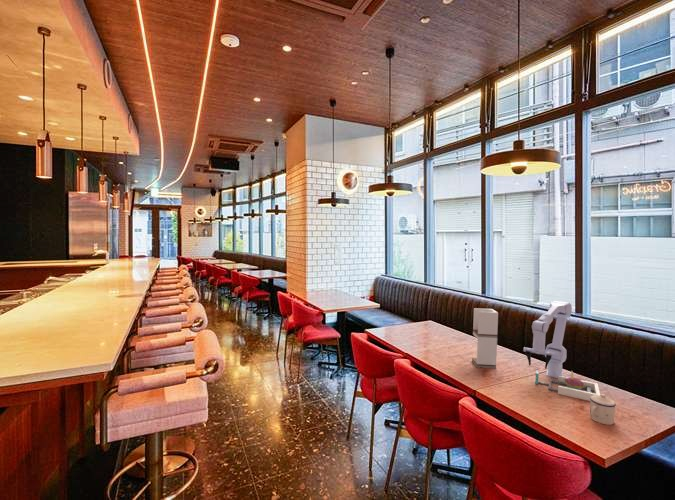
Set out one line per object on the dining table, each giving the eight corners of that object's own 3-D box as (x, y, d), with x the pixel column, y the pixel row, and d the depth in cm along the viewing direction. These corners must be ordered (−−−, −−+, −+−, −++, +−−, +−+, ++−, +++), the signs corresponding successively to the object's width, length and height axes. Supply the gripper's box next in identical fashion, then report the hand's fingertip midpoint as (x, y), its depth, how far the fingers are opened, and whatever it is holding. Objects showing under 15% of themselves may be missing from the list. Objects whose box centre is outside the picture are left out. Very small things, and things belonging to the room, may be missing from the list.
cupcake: (575, 396, 175) (576, 373, 175) (560, 388, 183) (561, 367, 183) (587, 394, 177) (588, 371, 177) (572, 387, 186) (573, 365, 185)
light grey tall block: (490, 362, 221) (492, 308, 220) (496, 368, 211) (498, 312, 209) (472, 361, 222) (473, 308, 221) (477, 367, 212) (479, 311, 210)
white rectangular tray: (558, 382, 191) (558, 375, 191) (597, 390, 182) (597, 383, 181) (557, 394, 177) (558, 386, 177) (600, 403, 168) (600, 395, 167)
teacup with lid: (597, 412, 159) (598, 388, 158) (619, 423, 150) (620, 397, 150) (580, 417, 154) (581, 392, 153) (602, 428, 146) (604, 402, 145)
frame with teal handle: (536, 378, 196) (536, 368, 195) (589, 390, 182) (590, 379, 181) (534, 386, 185) (535, 375, 184) (591, 399, 171) (592, 388, 171)
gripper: (523, 341, 189) (522, 365, 190) (554, 347, 181) (552, 372, 182) (524, 338, 195) (523, 362, 196) (554, 343, 187) (553, 368, 188)
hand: (537, 366), depth 189 cm, fingers open, 7 cm apart
